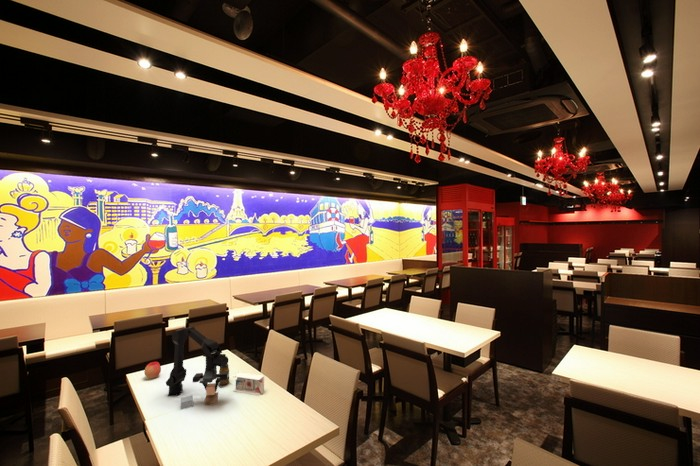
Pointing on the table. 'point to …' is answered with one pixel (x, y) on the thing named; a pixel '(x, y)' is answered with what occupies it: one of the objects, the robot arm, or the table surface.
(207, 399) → the walnut block
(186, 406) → the slate block
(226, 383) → the condiment
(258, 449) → the table surface
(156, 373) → the apple
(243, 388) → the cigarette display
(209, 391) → the terracotta cube
